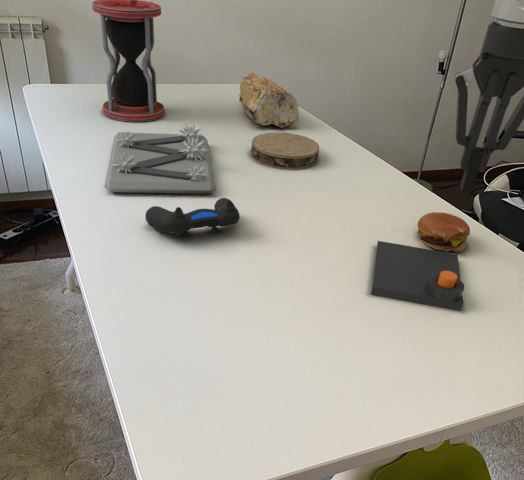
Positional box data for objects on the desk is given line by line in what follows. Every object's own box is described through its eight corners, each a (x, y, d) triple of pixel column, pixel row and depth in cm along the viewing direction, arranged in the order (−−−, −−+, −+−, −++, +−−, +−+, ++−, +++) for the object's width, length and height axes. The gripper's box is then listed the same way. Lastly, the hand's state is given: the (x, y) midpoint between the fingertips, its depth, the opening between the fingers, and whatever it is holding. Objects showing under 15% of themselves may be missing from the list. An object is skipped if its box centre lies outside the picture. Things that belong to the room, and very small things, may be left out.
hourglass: (177, 115, 149) (175, 7, 133) (129, 126, 139) (120, 11, 123) (138, 100, 156) (132, -4, 140) (90, 110, 146) (78, -1, 131)
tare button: (453, 281, 86) (457, 272, 85) (454, 290, 84) (458, 280, 83) (436, 278, 87) (440, 269, 85) (437, 287, 85) (440, 277, 83)
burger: (429, 224, 108) (436, 202, 105) (474, 242, 103) (482, 219, 100) (404, 241, 102) (411, 217, 99) (450, 260, 97) (458, 236, 94)
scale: (455, 261, 97) (460, 246, 95) (461, 311, 85) (467, 295, 83) (376, 247, 99) (379, 232, 97) (370, 295, 86) (374, 278, 84)
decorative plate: (115, 141, 129) (112, 110, 125) (206, 144, 133) (207, 113, 128) (105, 195, 107) (101, 158, 102) (215, 197, 110) (216, 161, 106)
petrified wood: (231, 106, 157) (240, 68, 152) (273, 116, 162) (283, 80, 157) (250, 126, 143) (260, 85, 137) (295, 136, 148) (307, 97, 142)
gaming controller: (147, 241, 99) (161, 237, 90) (141, 208, 98) (154, 201, 89) (233, 228, 105) (253, 223, 96) (228, 198, 104) (248, 190, 95)
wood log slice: (305, 174, 123) (307, 161, 121) (240, 159, 127) (241, 146, 125) (325, 153, 135) (327, 140, 133) (265, 140, 138) (266, 128, 137)
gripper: (472, 22, 73) (425, 192, 87) (574, 33, 71) (509, 204, 86) (466, 14, 78) (424, 175, 93) (561, 25, 77) (502, 186, 92)
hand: (465, 189), depth 90 cm, fingers closed
